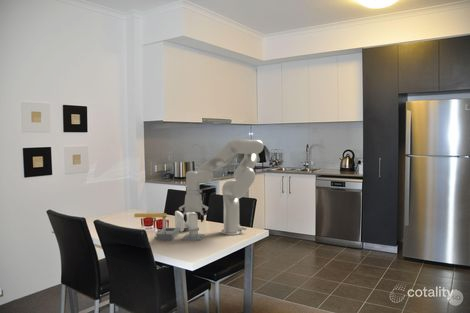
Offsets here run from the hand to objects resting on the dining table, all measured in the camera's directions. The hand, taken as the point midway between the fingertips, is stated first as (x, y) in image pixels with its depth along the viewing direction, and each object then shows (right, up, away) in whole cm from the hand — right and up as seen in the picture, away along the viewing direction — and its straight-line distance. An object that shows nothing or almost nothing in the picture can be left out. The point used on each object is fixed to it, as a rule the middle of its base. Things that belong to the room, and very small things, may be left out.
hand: (193, 221), depth 221 cm
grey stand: (-15, -9, +2) cm, 18 cm away
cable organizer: (-8, -9, +19) cm, 22 cm away
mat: (0, -9, 0) cm, 9 cm away
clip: (-24, +4, -6) cm, 25 cm away
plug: (0, -9, 0) cm, 9 cm away
